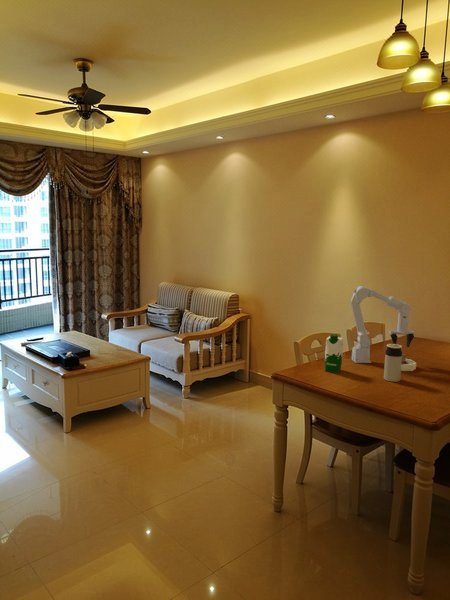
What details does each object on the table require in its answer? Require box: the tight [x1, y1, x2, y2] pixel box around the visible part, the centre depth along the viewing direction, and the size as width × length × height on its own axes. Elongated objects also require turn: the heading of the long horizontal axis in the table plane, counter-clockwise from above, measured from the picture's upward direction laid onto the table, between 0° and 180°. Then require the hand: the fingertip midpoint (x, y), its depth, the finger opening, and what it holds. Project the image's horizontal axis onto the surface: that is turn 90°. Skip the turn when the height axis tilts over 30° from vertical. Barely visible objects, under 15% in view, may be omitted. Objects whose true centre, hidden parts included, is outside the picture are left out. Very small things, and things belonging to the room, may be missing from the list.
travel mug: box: [383, 343, 403, 383], centre depth 238 cm, size 8×8×18 cm
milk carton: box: [324, 334, 344, 374], centre depth 252 cm, size 9×9×20 cm
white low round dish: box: [401, 358, 417, 372], centre depth 262 cm, size 14×14×4 cm
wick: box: [401, 352, 407, 364], centre depth 261 cm, size 4×2×7 cm, turn 4°
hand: (401, 346), depth 268 cm, fingers open, 7 cm apart
